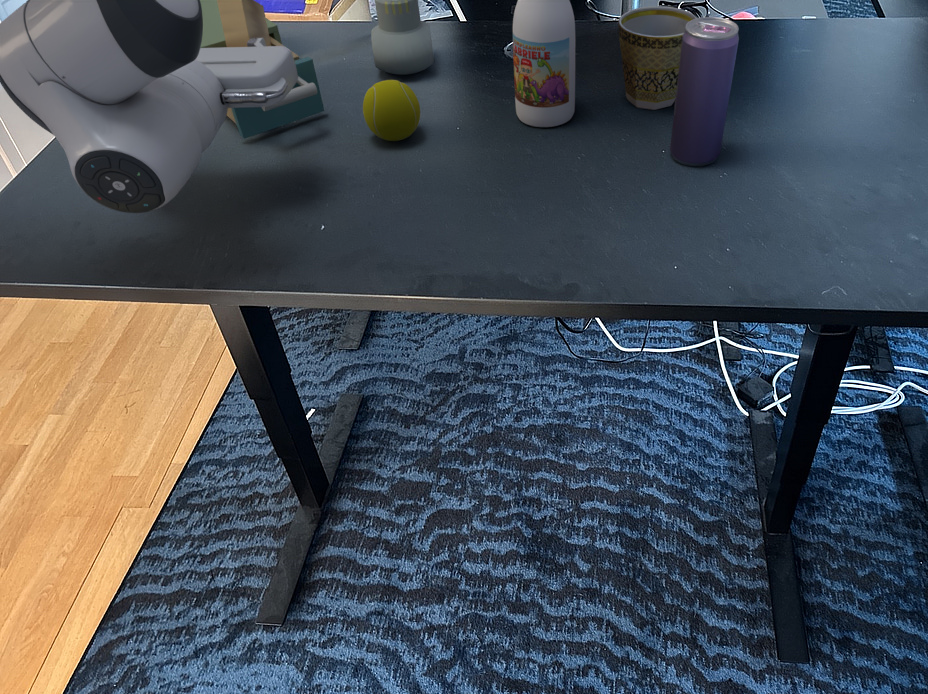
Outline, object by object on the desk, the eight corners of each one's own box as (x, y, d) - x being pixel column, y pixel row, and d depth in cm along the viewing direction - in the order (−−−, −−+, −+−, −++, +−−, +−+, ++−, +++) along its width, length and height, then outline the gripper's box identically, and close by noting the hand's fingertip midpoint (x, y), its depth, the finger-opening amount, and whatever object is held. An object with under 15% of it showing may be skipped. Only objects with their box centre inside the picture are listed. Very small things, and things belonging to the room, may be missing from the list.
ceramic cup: (679, 120, 99) (689, 40, 92) (605, 109, 102) (608, 31, 94) (700, 78, 107) (710, 1, 100) (631, 69, 110) (636, -6, 103)
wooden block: (256, 72, 94) (239, -9, 92) (232, 75, 95) (215, -6, 92) (278, 79, 102) (263, 5, 100) (256, 82, 102) (240, 8, 100)
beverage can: (714, 171, 90) (735, 40, 79) (664, 163, 92) (678, 34, 81) (723, 147, 94) (745, 19, 83) (675, 140, 96) (690, 13, 85)
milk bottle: (528, 98, 105) (523, -68, 90) (582, 106, 103) (585, -63, 88) (507, 124, 100) (497, -47, 85) (563, 133, 98) (563, -41, 83)
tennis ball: (417, 120, 101) (410, 66, 96) (428, 145, 96) (421, 90, 91) (364, 128, 100) (354, 75, 95) (373, 154, 95) (362, 99, 90)
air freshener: (436, 80, 109) (427, 6, 102) (377, 85, 108) (364, 11, 101) (432, 49, 117) (424, -23, 109) (377, 54, 116) (365, -18, 109)
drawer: (341, 123, 99) (330, 71, 94) (259, 153, 94) (242, 99, 90) (274, 72, 110) (260, 23, 105) (197, 97, 106) (179, 46, 101)
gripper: (271, 68, 75) (302, 13, 85) (65, 73, 76) (119, 18, 85) (288, 129, 80) (315, 71, 89) (94, 133, 80) (141, 75, 90)
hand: (218, 45), depth 87 cm, fingers open, 8 cm apart
